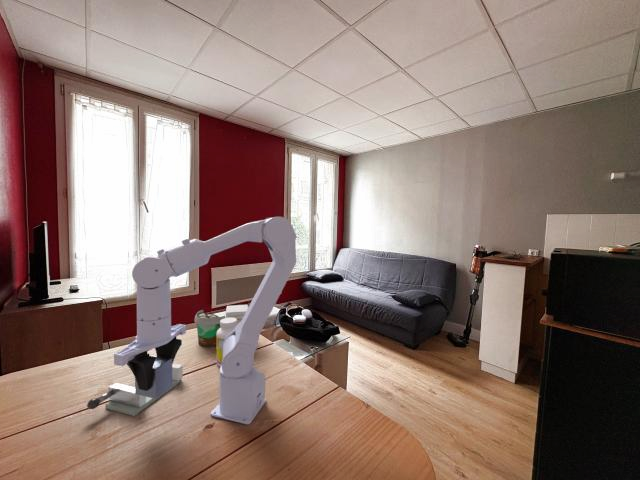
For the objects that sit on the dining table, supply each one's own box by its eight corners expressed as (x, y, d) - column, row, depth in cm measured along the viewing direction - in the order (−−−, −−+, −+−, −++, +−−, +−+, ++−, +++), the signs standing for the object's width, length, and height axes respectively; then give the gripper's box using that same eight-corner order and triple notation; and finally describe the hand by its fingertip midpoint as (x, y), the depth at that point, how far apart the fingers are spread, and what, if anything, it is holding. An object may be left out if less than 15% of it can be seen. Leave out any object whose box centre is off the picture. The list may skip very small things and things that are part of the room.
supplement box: (226, 340, 91) (226, 305, 90) (247, 338, 93) (248, 304, 92) (225, 350, 84) (225, 312, 83) (248, 348, 86) (249, 310, 85)
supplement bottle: (222, 355, 80) (223, 315, 80) (243, 357, 80) (243, 316, 79) (211, 367, 74) (212, 323, 73) (234, 369, 73) (234, 325, 72)
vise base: (182, 381, 67) (182, 365, 67) (135, 416, 55) (135, 397, 54) (155, 375, 69) (155, 360, 69) (104, 408, 57) (104, 389, 56)
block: (172, 386, 54) (172, 358, 53) (155, 398, 50) (155, 368, 49) (153, 382, 55) (152, 354, 54) (135, 394, 51) (134, 364, 51)
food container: (186, 343, 88) (186, 314, 88) (202, 336, 94) (202, 309, 93) (210, 352, 82) (211, 321, 82) (226, 344, 88) (226, 315, 87)
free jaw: (146, 402, 57) (145, 389, 57) (117, 423, 51) (117, 409, 51) (115, 394, 59) (115, 382, 59) (84, 413, 53) (84, 400, 53)
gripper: (167, 303, 59) (168, 360, 60) (100, 327, 45) (101, 401, 46) (193, 306, 58) (193, 365, 58) (131, 332, 44) (132, 409, 44)
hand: (154, 382), depth 52 cm, fingers closed on block, 4 cm apart
